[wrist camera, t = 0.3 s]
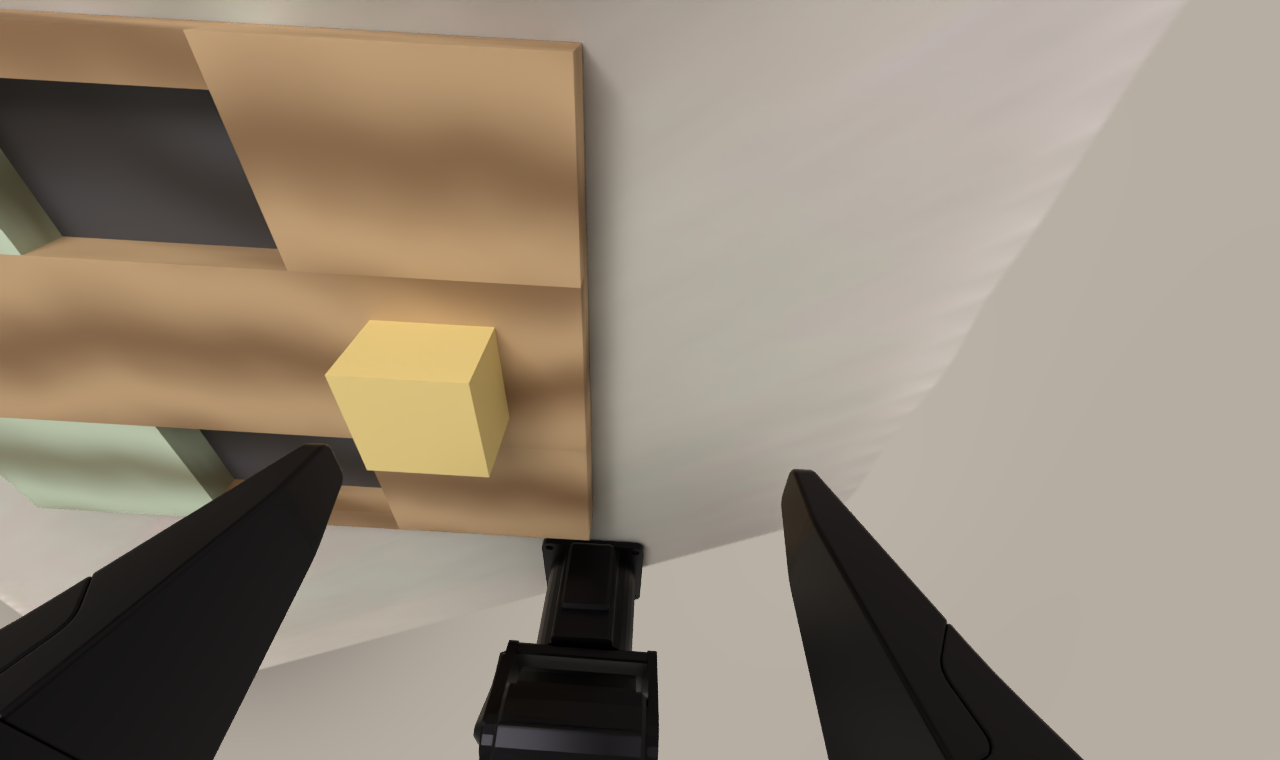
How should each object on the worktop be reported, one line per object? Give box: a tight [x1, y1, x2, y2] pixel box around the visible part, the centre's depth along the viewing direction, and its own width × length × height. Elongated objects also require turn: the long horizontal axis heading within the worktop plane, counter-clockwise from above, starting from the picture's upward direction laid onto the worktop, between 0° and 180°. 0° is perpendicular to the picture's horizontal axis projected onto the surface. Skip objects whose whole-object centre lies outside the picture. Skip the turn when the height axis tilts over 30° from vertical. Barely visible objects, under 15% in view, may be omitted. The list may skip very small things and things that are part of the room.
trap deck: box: [0, 10, 593, 540], centre depth 23 cm, size 24×32×2 cm
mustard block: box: [325, 320, 509, 477], centre depth 21 cm, size 5×5×4 cm
